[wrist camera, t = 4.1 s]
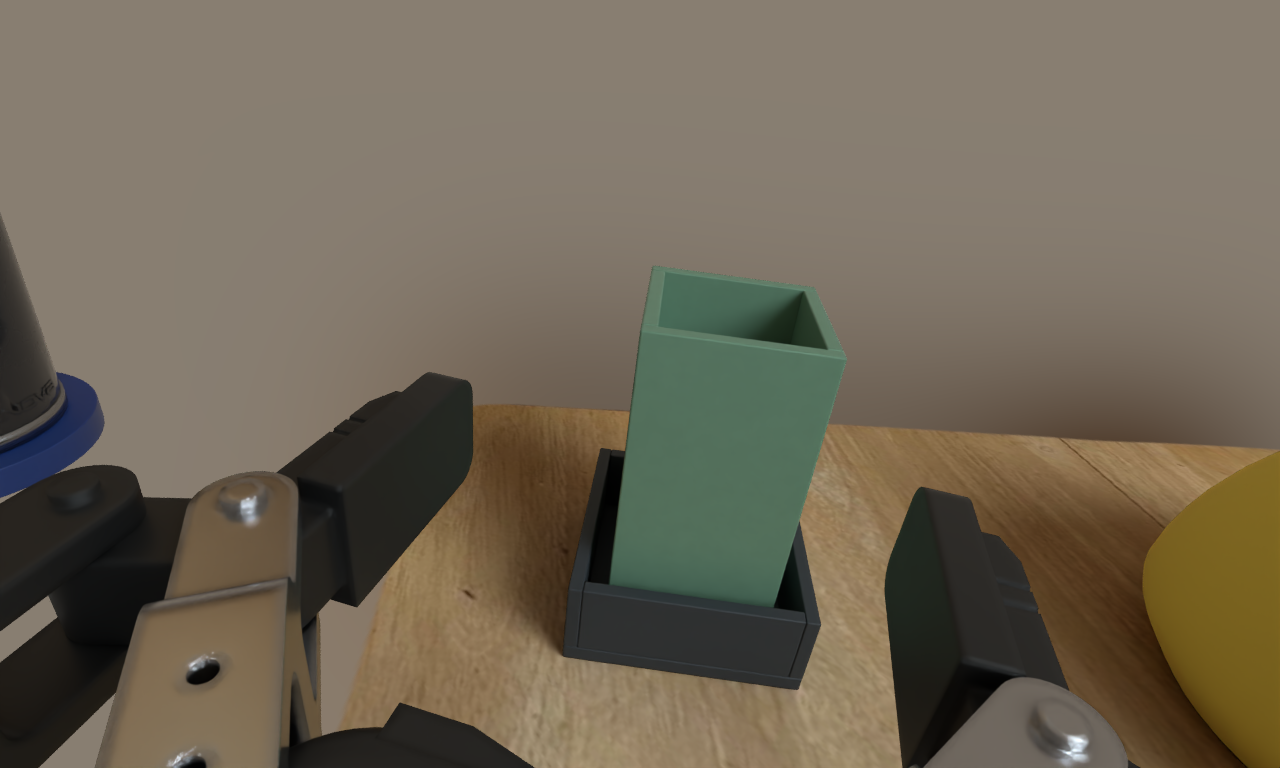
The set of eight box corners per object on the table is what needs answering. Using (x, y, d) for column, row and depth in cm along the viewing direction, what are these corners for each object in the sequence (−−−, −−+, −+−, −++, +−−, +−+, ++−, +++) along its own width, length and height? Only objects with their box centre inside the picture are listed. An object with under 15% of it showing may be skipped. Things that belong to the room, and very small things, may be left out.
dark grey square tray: (562, 657, 24) (567, 589, 22) (594, 506, 31) (600, 447, 30) (798, 690, 24) (821, 625, 22) (774, 531, 31) (790, 473, 30)
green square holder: (603, 622, 25) (640, 330, 19) (619, 518, 30) (652, 265, 24) (762, 644, 25) (847, 358, 19) (751, 536, 30) (814, 286, 24)
